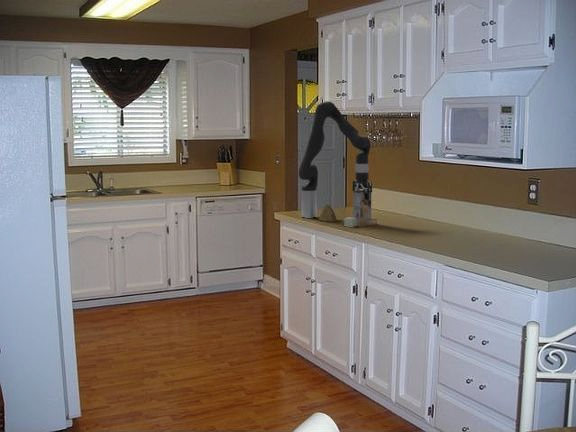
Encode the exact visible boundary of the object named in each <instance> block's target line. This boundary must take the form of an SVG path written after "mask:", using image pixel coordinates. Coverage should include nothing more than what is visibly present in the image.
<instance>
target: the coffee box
mask: <svg viewBox="0 0 576 432" xmlns="http://www.w3.org/2000/svg"><path fill="white" fill-rule="evenodd" d="M365 194H366V193H365V191H364V190H363V189H360V190H359V191H352V195H353V196H352V218H357V219H360V220H361V219H366V218H372V192H371V193H369V200H365Z"/></svg>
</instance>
